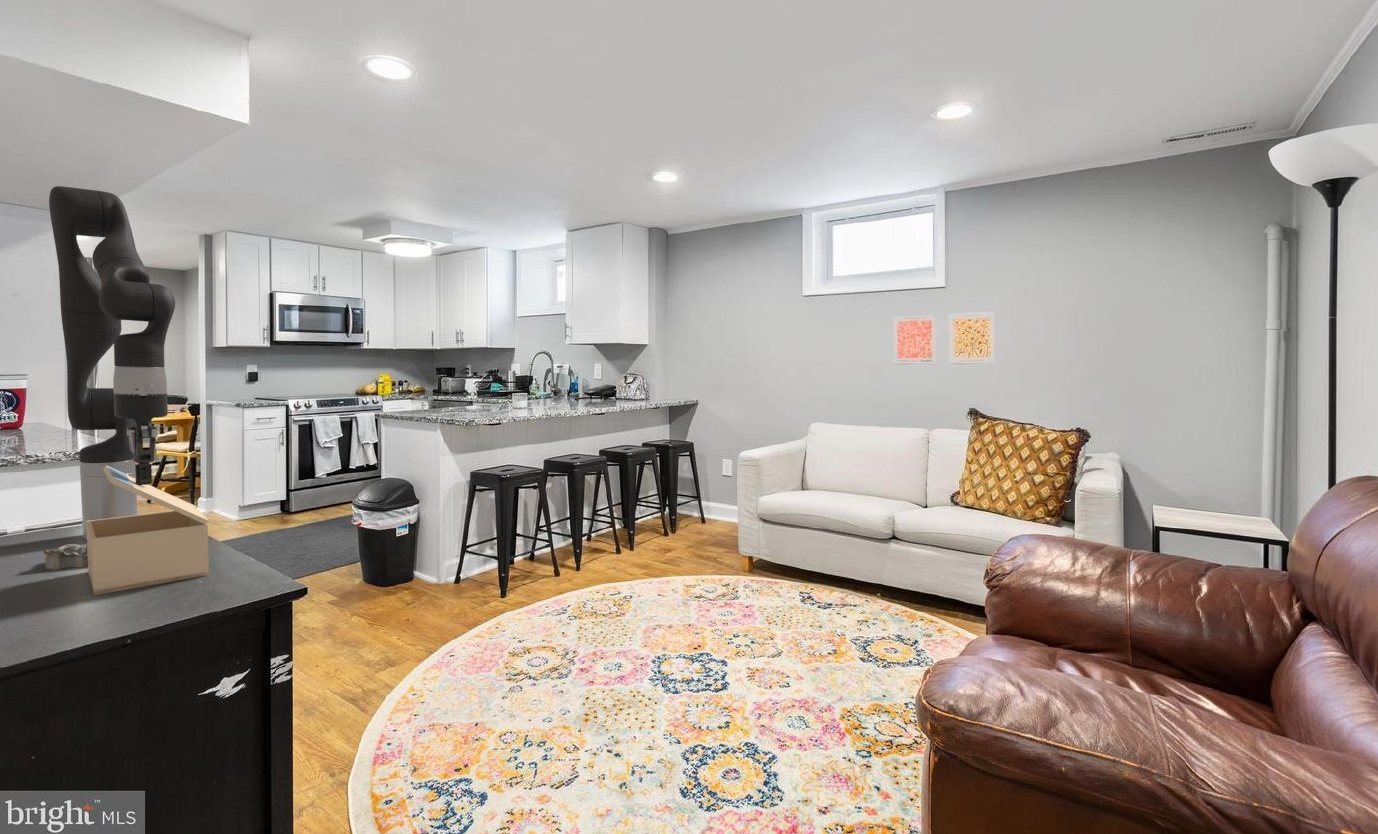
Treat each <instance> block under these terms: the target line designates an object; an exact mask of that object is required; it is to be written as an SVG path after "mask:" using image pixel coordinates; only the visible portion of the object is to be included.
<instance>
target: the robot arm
mask: <svg viewBox="0 0 1378 834" xmlns="http://www.w3.org/2000/svg"><path fill="white" fill-rule="evenodd" d="M48 199H49V200H48V202H49V203H48V205H49V207H48V208H49V215H50V221H51V227H52V233H53V240H54V246H55V250H56V252H55V253H56V257H57V259H56V260H57V266H58V278H59V279H58V281H59V297H60V298H59V301H60V305H59V306H60V313H61V315H60V316H61V324H62V331H63V338H64V339H63V340H64V347H65V348H64V349H65V356H66V384H67V385H66V386H67V387H66V389H67V390H66V391H67V392H66V394H67V395H66V396H67V399H66V401H67V416H68V420H69V424H70V426H71V427H72V428H73V429H75V430H77V431H100V430H101V431H106V430H110V431H111V430H115V433H114V435H112V436H111V437H109V438H107V439H105V440H103V441H101V442H98V443H95V444H90V445H88V446H84V447H82V448H81V449H80V450H79V454H78V456H79V474H80V493H81V496H80V497H81V512H82V513H81V514H82V515H81V519H82V539H83V540H84V541H87V531H86V521H90V520H99V519H108V518H117V517H126V516H135V515H139V513H138V495H137V494H135V493H133V492H131V491H128V490H126V489H124V488H122V487H119V486H117V485H115V484H112V483H110V481H109V480H108V478H107V476H106V474H105V472H104V470H103V468H104V467H105V466H110V467H112V468H114V469H116V470H119V471H121V472H123V473H125V474H126V475H128V476H130V477H133V478H135V480H136V484H137V485H151V484H152V482H153V472H152V465H153V463H154V462H155V452H156V448H157V447H156V446H157V445H156V444H157V443H156V442H157V439H156V438H157V437H158V428H157V427H156V426H153V421H152V420H153V419H155V418H157V419H158V418H165V417H167V416H168V414H169V413H168V412H169V411H168V407H169V405H168V381H167V375H166V369H165V367H166V366H165V343H166V337H167V334H168V330H169V327H170V324H171V321H172V318H173V316H174V311H175V308H176V298H175V296H174V294H173V293H172V290H170V289H169V288H168V287H167V286H165V285H162V284H157V283H151V280H150V279H151V278H150V275H149V273H148V270H147V268H146V267H145V265H144V263H143V261H142V259H141V257H140V256H139V254H138V251H137V247H136V244H135V243H136V242H135V239H134V235H133V232H132V231H133V230H132V227H131V223H130V219H129V217H128V213H127V211H126V210H127V209H126V207H125V205H124V203H123V201H122V199H120V197H118V195H116V194H114V193H112V192H108V191H103V190H102V191H101V190H94V189H86V188H79V187H70V186H69V187H68V186H62V185H59V186H58V185H57V186H54V187H52V188H51V189H50V192H49V197H48ZM77 236H80V237H81V236H82V237H93V238H94V237H95V238H103V239H101V241H99V243H98V244H97V245H96V246H95V248H94V250H93V252H92V257H91V258H92V263H93V266H94V268H93V267H92V266H91V265H90V263H89V261H88V260H87V259H86V257H85V256H84V254H83V253H82V250H81V248H80V247H79V246H80V245H79V243H78V238H77ZM122 321H133V322H134V321H135V322H147V326H146V328H145V329H144V330H142V331H140V332H132V333H123V334H121V333H122V330H123V329H122ZM112 347H113V359H114V362H113V363H114V364H113V365H114V369H113V370H114V371H113V380H112V382H113V384H112V385H113V387H101V388H100V387H88V381H89V378H90V376H91V374H92V372H93V371H94V369H95V367H96V366H97V364H98V363H99V362H100V360H101V359H103V357H104V355H106V353H107V352H108V351H109V350H110V349H111V348H112Z"/></svg>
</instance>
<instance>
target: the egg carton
mask: <svg viewBox="0 0 1378 834" xmlns="http://www.w3.org/2000/svg"><path fill="white" fill-rule="evenodd" d="M43 554H44V555H46V556H45V569H46V570H52V571H56V570H60V569H61V570H62V569H64V568H69V567H70V568H71V567H74V568H84V567H88V553H87V543H85V544H76V543H68V544H64V545H61V546H59V547H57V548H53V550H50V549H48V550H45V549H44V551H43Z"/></svg>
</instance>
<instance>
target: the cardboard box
mask: <svg viewBox="0 0 1378 834" xmlns="http://www.w3.org/2000/svg"><path fill="white" fill-rule="evenodd" d="M208 530H209V529H208V523H207V524H203V523H201V522H199V521H197V520H194V519H192V518H190V517H188V516H185V515H183V514H181V513H178V512H176V511H174V510H172V511H165V512H164V511H163V512H162V511H161V512H155V513H145V514H138V515H135V516H126V517H117V518H108V519H99V520H90V521H86V531H87V540H86V544H87V553H88V565H87V569H88V570H87V571H88V576H89V580H90V584H91V589H92V593H93V596H96V595H97V596H98V595H103V594H109V593H113V592H115V593H116V592H119V591H126V590H127V591H128V590H131V589H137V588H144V587H149V586H154V585H161V584H166V583H173V582H178V581H183V580H190V579H195V578H197V579H198V578H201V577H209V576H210V568H209V567H210V566H209V565H210V562H209V561H210V559H209V558H210V557H209V532H208Z"/></svg>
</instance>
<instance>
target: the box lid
mask: <svg viewBox="0 0 1378 834" xmlns="http://www.w3.org/2000/svg"><path fill="white" fill-rule="evenodd" d="M103 470H104V472H105V474H106V476H107V478H108V480H109V481H110V483H112V484H115V485H117V486H119V487H122V488H124V489H126V490H128V491H131V492H133V493H135V494H137V496H140V497H142V498H145V499H146V500H149V501H152V502H153V503H156V504H159V505H161V506H162V507H165V508H167V509H169V510H172V511H176V512H178V513H181V514H183V515H185V516H188V517H190V518H192V519H194V520H197V521H199V522H201V523H203V524H207V525H208V523H209V522H210V520H209V519H208V518H207V517H206V516H205V515H204V513H202V512H201V511H200V510H199V509H198V508H197V507H196V506H195V504H192V503H189V502H187V501H186V500H184V499H181V498H179V497H177V496H174V495H172V494H170V493H168V492H165V491H164V490H161V489H158V488H157V487H155V486H152V485H151V484H149V485H137V484H136V480H135V478H133V477H130V476H128V475H126V474H125V473H123V472H121V471H119V470H116V469H114V468H112V467H110V466H105V467H104V468H103Z"/></svg>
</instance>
